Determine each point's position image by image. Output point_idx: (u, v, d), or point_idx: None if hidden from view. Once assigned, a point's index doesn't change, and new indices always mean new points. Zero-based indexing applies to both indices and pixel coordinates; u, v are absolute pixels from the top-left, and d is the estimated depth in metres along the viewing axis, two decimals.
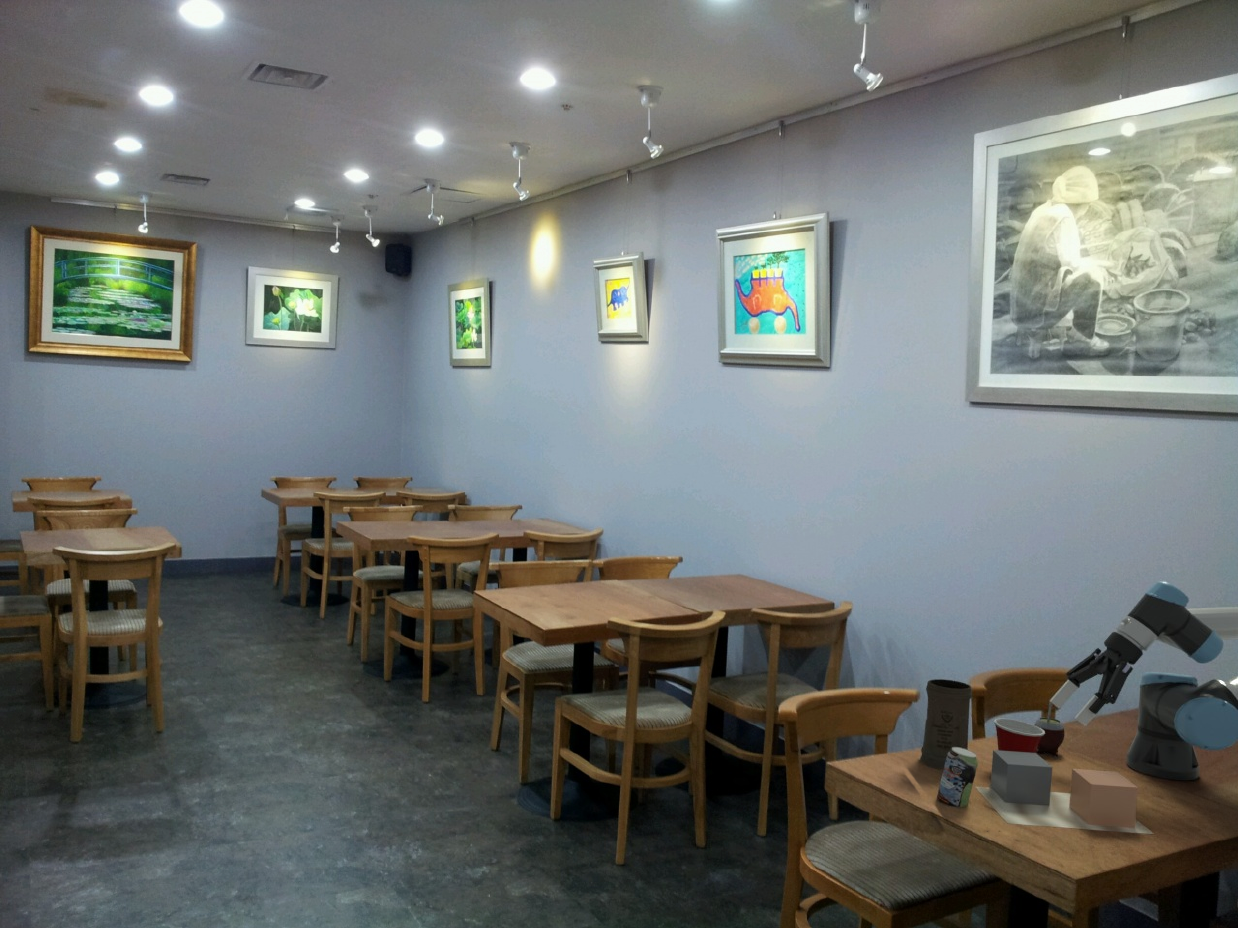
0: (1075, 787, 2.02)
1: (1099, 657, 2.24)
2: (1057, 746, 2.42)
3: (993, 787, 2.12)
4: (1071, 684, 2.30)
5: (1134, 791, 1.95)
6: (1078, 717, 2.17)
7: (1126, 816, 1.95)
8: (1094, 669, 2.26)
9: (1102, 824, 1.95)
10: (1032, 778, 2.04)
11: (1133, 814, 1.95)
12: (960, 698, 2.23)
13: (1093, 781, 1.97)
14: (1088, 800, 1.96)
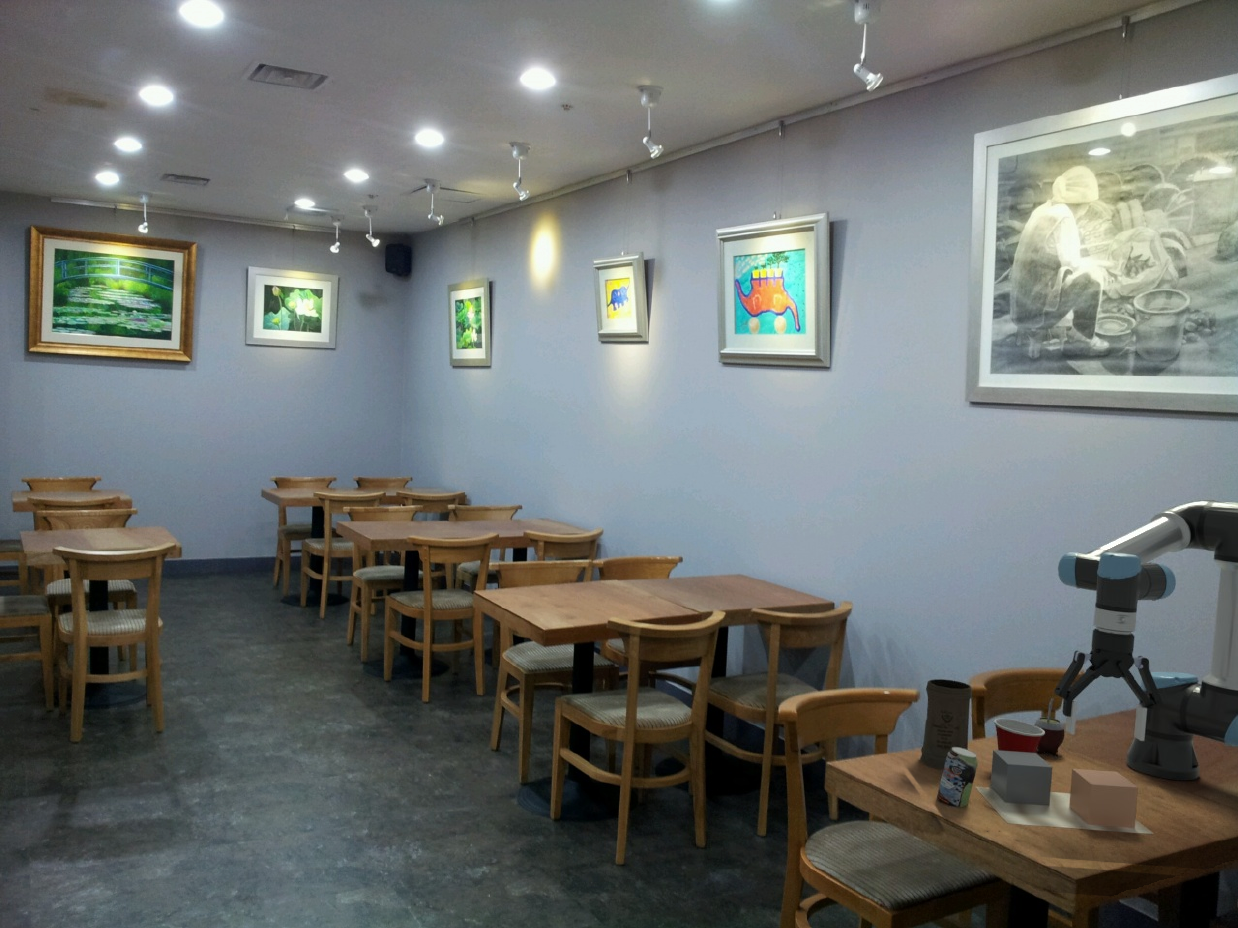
0: (1075, 787, 2.02)
1: (1107, 665, 1.97)
2: (1057, 746, 2.42)
3: (993, 787, 2.12)
4: None
5: (1134, 791, 1.95)
6: None
7: (1126, 816, 1.95)
8: None
9: (1102, 824, 1.95)
10: (1032, 778, 2.04)
11: (1133, 814, 1.95)
12: (960, 698, 2.23)
13: (1093, 781, 1.97)
14: (1088, 800, 1.96)
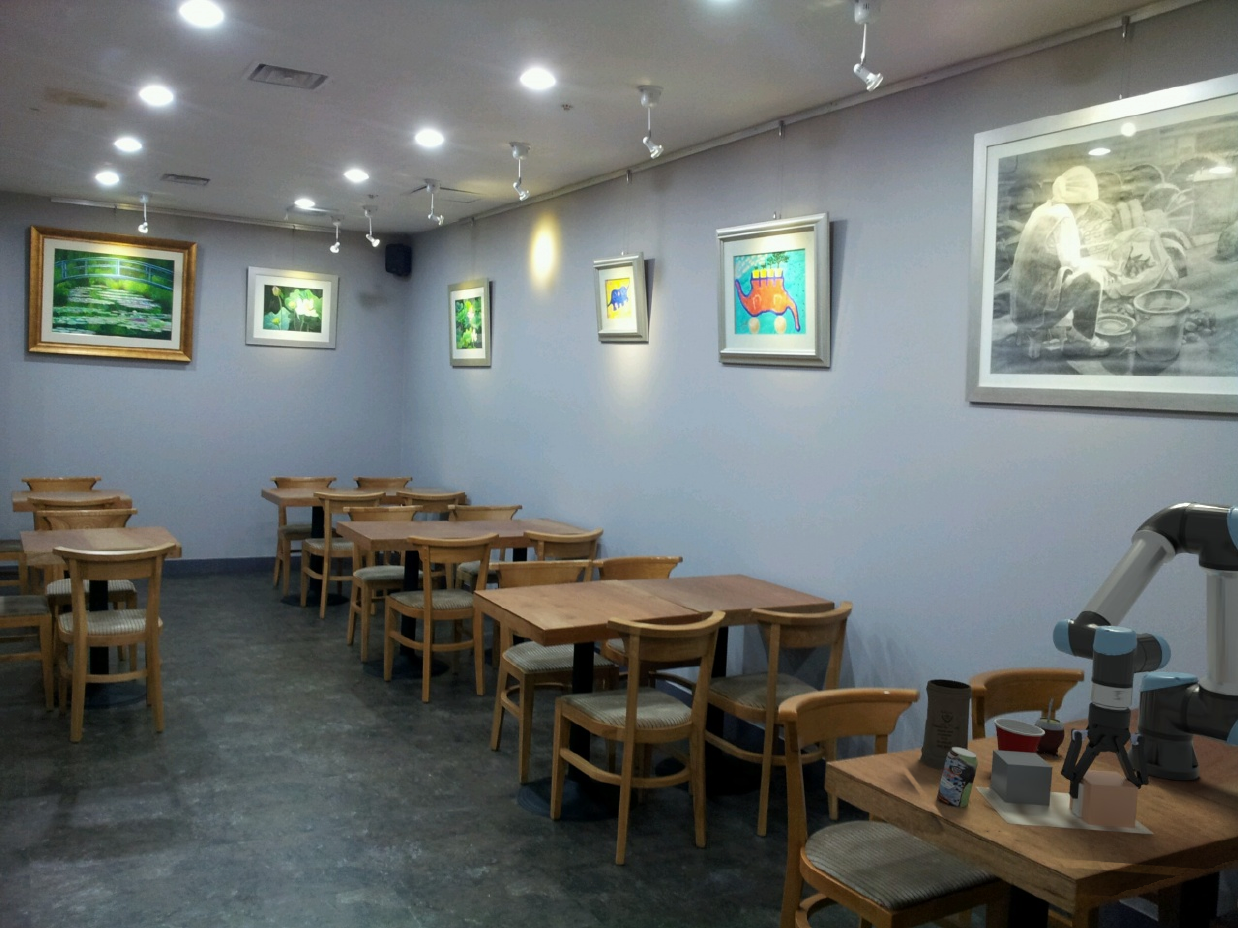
0: None
1: (1104, 741, 1.97)
2: (1057, 746, 2.42)
3: (993, 787, 2.12)
4: None
5: (1134, 791, 1.95)
6: None
7: (1126, 816, 1.95)
8: None
9: (1102, 824, 1.95)
10: (1032, 778, 2.04)
11: (1133, 814, 1.95)
12: (960, 698, 2.23)
13: (1093, 781, 1.97)
14: (1088, 800, 1.96)
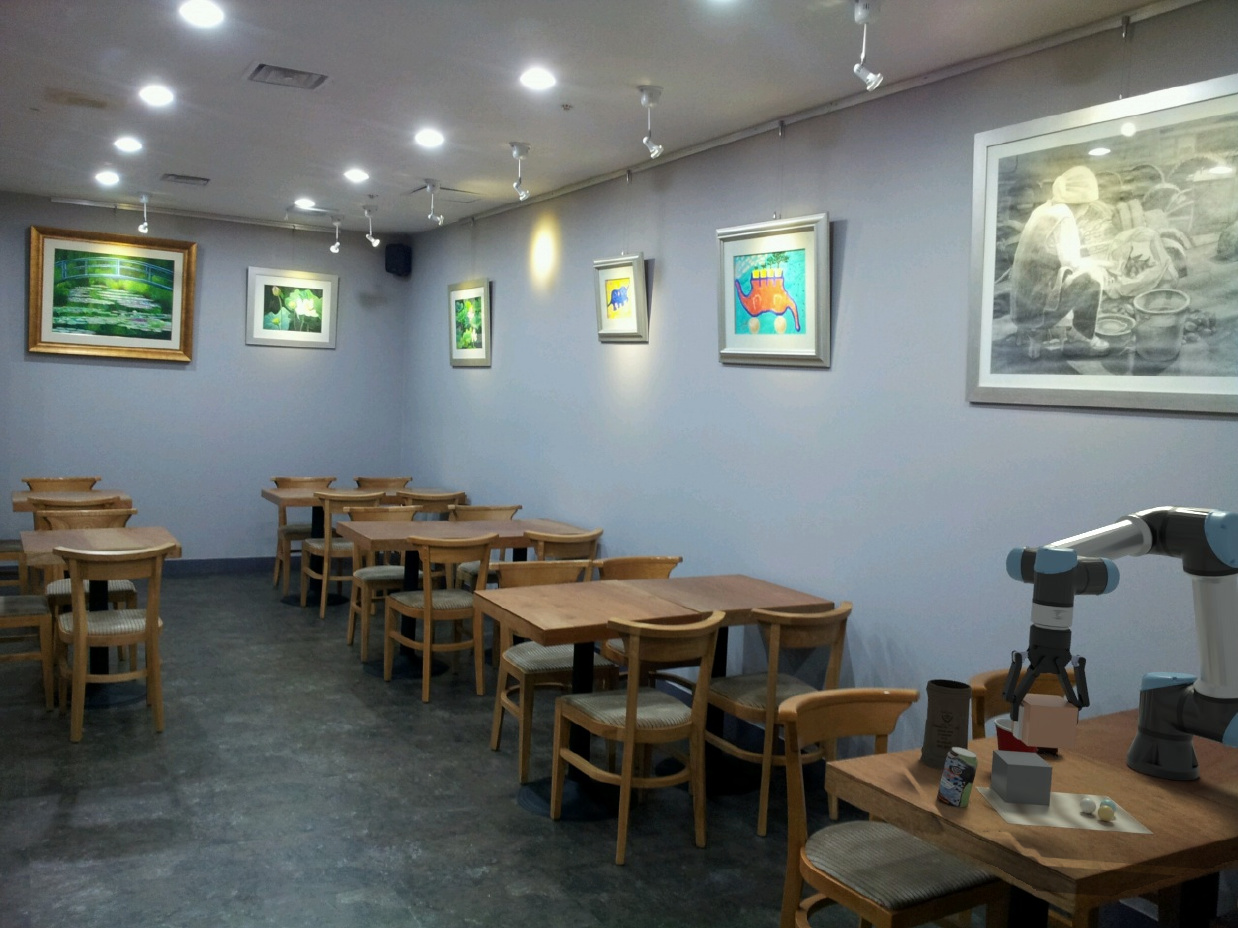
0: None
1: (1045, 662, 1.94)
2: None
3: (993, 787, 2.12)
4: None
5: (1074, 712, 1.92)
6: None
7: (1066, 737, 1.92)
8: None
9: (1042, 745, 1.92)
10: (1032, 778, 2.04)
11: (1073, 735, 1.92)
12: (960, 698, 2.23)
13: (1033, 702, 1.94)
14: (1028, 721, 1.93)
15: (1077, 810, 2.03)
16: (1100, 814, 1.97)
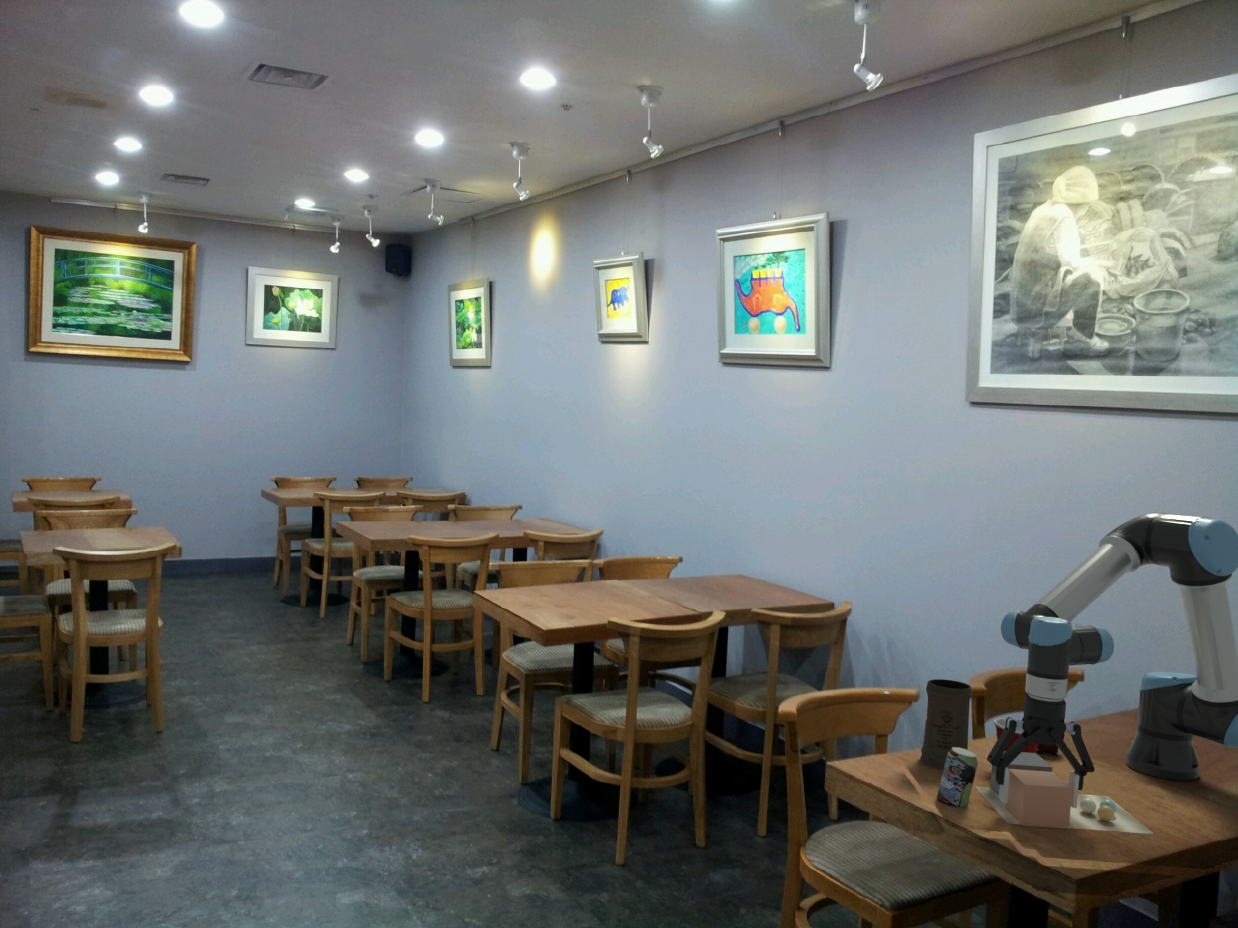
0: (1010, 788, 2.00)
1: (1039, 733, 1.95)
2: None
3: (993, 787, 2.12)
4: None
5: (1068, 791, 1.92)
6: None
7: (1060, 817, 1.92)
8: None
9: (1036, 825, 1.93)
10: None
11: (1067, 815, 1.92)
12: (960, 698, 2.23)
13: (1027, 781, 1.94)
14: (1022, 801, 1.93)
15: (1077, 810, 2.03)
16: (1100, 814, 1.97)
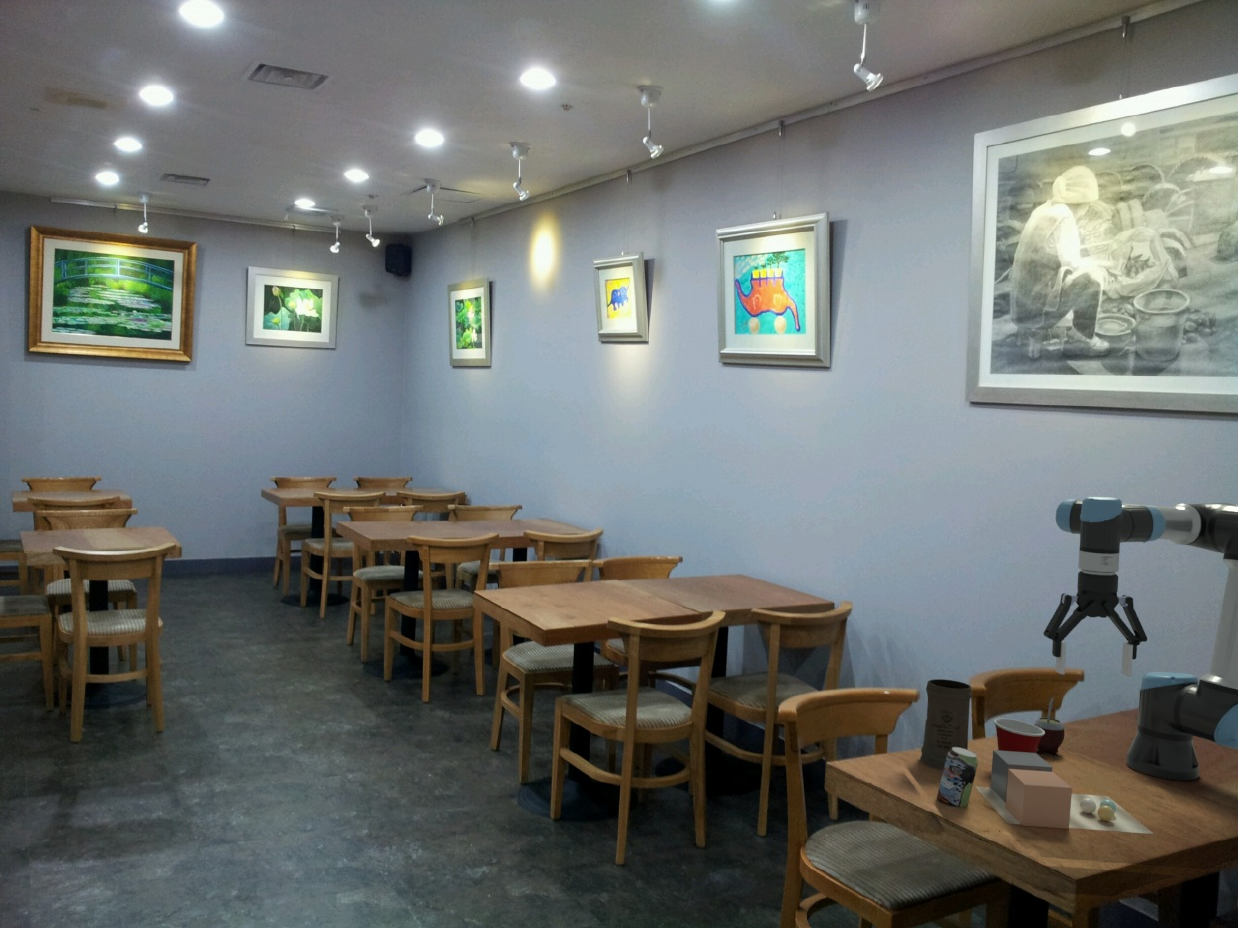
0: (1010, 788, 2.00)
1: (1093, 606, 2.04)
2: (1057, 746, 2.42)
3: (993, 787, 2.12)
4: None
5: (1068, 791, 1.92)
6: None
7: (1060, 817, 1.92)
8: None
9: (1036, 825, 1.93)
10: None
11: (1067, 815, 1.92)
12: (960, 698, 2.23)
13: (1027, 781, 1.94)
14: (1022, 801, 1.93)
15: (1077, 810, 2.03)
16: (1100, 814, 1.97)
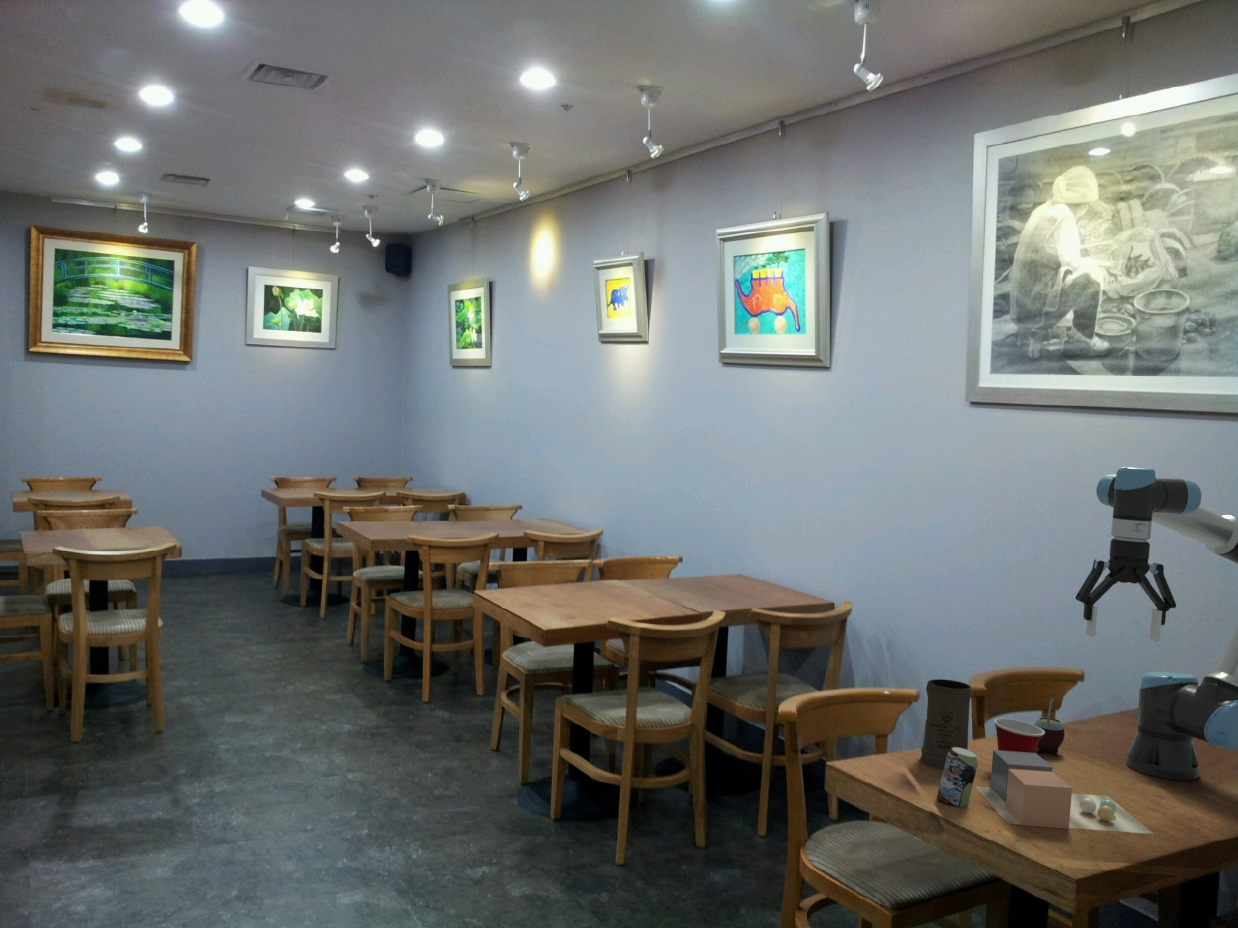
0: (1010, 788, 2.00)
1: (1125, 571, 2.12)
2: (1057, 746, 2.42)
3: (993, 787, 2.12)
4: None
5: (1068, 791, 1.92)
6: None
7: (1060, 817, 1.92)
8: None
9: (1036, 825, 1.93)
10: None
11: (1067, 815, 1.92)
12: (960, 698, 2.23)
13: (1027, 781, 1.94)
14: (1022, 801, 1.93)
15: (1077, 810, 2.03)
16: (1100, 814, 1.97)
